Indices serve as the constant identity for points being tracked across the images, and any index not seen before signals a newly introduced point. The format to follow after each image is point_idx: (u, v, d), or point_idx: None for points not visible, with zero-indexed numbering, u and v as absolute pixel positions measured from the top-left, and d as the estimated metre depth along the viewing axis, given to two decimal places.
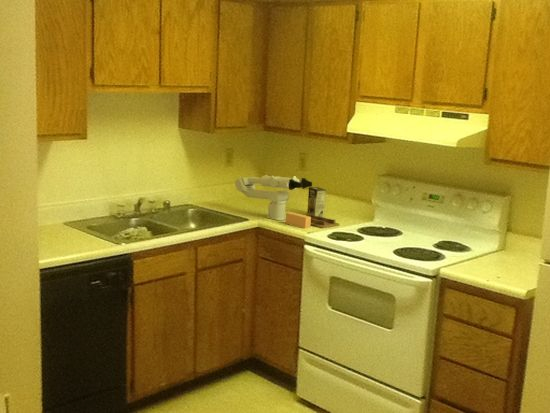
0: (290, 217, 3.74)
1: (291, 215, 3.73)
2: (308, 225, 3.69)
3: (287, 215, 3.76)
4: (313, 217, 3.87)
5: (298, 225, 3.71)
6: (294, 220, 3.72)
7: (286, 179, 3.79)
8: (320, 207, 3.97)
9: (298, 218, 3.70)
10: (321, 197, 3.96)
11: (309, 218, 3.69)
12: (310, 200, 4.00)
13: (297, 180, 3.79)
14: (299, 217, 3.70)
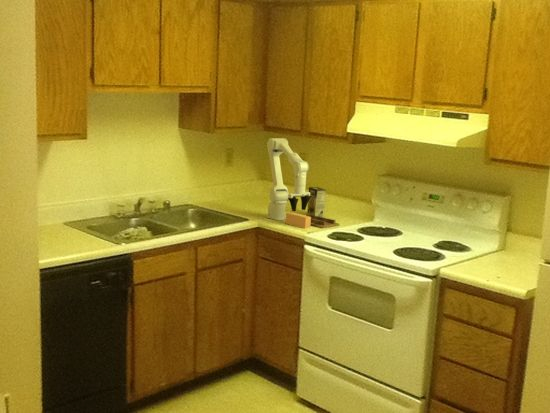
0: (290, 217, 3.74)
1: (291, 215, 3.73)
2: (308, 225, 3.69)
3: (287, 215, 3.76)
4: (313, 217, 3.87)
5: (298, 225, 3.71)
6: (294, 220, 3.72)
7: (300, 186, 3.67)
8: (320, 207, 3.97)
9: (298, 218, 3.70)
10: (321, 197, 3.96)
11: (309, 218, 3.69)
12: (310, 200, 4.00)
13: None
14: (299, 217, 3.70)
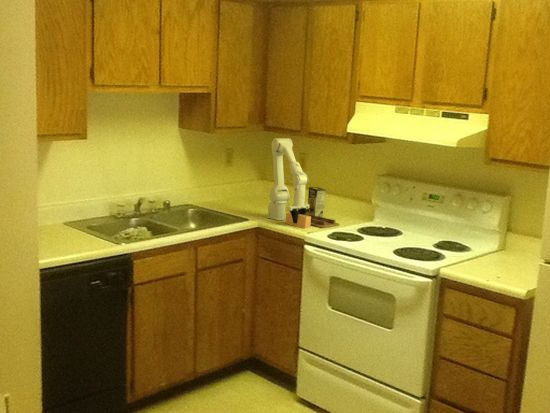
0: (290, 217, 3.74)
1: (291, 215, 3.73)
2: (308, 225, 3.69)
3: (287, 215, 3.75)
4: (313, 217, 3.87)
5: (298, 225, 3.71)
6: None
7: (299, 199, 3.68)
8: (320, 207, 3.97)
9: (298, 218, 3.70)
10: (321, 197, 3.96)
11: (309, 218, 3.69)
12: (310, 200, 4.00)
13: None
14: (299, 217, 3.70)
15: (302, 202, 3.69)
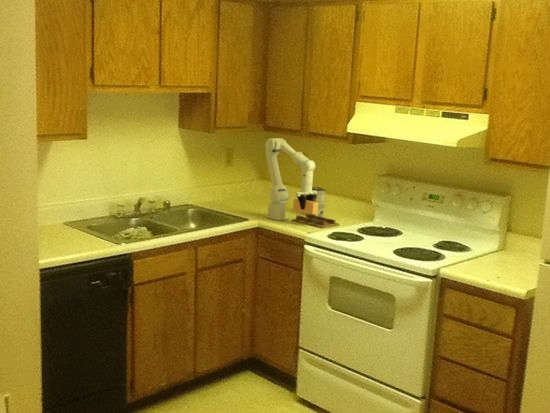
0: (298, 203, 3.76)
1: None
2: (316, 211, 3.71)
3: (295, 201, 3.77)
4: (313, 217, 3.87)
5: (306, 211, 3.73)
6: None
7: (307, 185, 3.70)
8: (320, 207, 3.97)
9: (305, 204, 3.72)
10: (321, 197, 3.96)
11: (317, 204, 3.71)
12: None
13: None
14: (307, 203, 3.71)
15: (310, 188, 3.71)
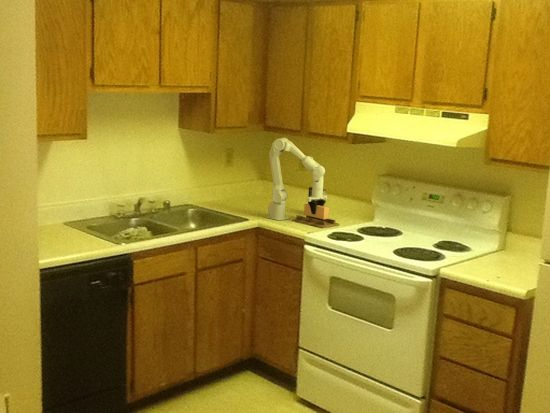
0: (308, 208, 3.82)
1: (309, 206, 3.81)
2: (326, 215, 3.77)
3: (305, 206, 3.83)
4: (313, 217, 3.87)
5: (316, 216, 3.78)
6: None
7: (318, 190, 3.76)
8: None
9: (316, 209, 3.78)
10: None
11: (327, 209, 3.77)
12: None
13: None
14: (317, 208, 3.77)
15: (320, 193, 3.77)
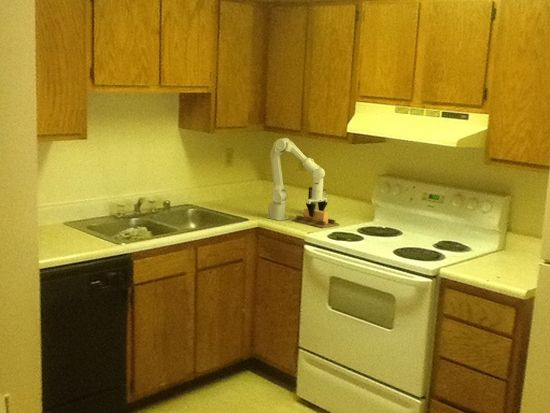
0: (308, 213, 3.82)
1: None
2: (326, 220, 3.77)
3: (305, 211, 3.84)
4: None
5: None
6: None
7: (318, 192, 3.77)
8: None
9: (316, 214, 3.79)
10: None
11: (327, 214, 3.77)
12: None
13: (321, 200, 3.80)
14: (317, 213, 3.78)
15: (320, 196, 3.77)
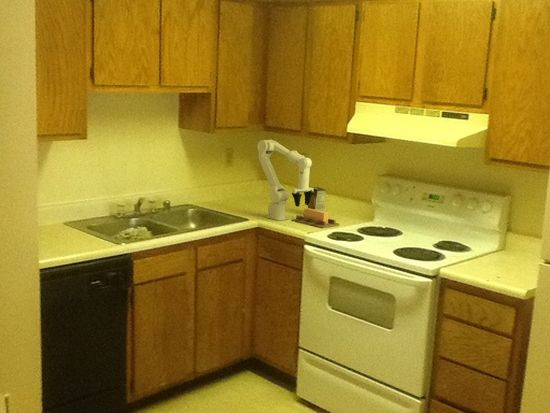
0: (308, 213, 3.82)
1: (309, 211, 3.82)
2: (326, 220, 3.77)
3: (305, 211, 3.84)
4: None
5: None
6: (312, 216, 3.81)
7: (304, 182, 3.75)
8: (320, 207, 3.97)
9: (316, 214, 3.79)
10: (321, 197, 3.96)
11: (327, 214, 3.77)
12: (310, 200, 4.00)
13: None
14: (317, 213, 3.78)
15: (306, 185, 3.76)
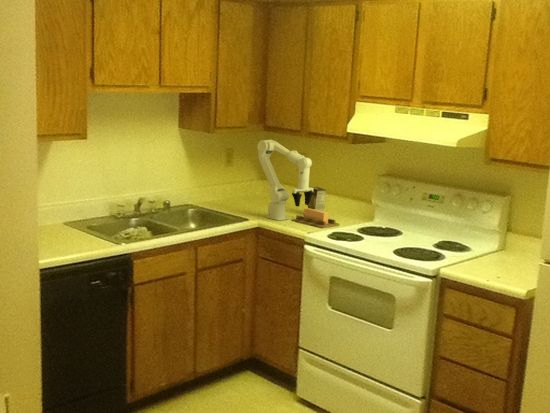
0: (308, 213, 3.82)
1: (309, 211, 3.82)
2: (326, 220, 3.77)
3: (305, 211, 3.84)
4: None
5: None
6: (312, 216, 3.81)
7: (304, 182, 3.75)
8: (320, 207, 3.97)
9: (316, 214, 3.79)
10: (321, 197, 3.96)
11: (327, 214, 3.77)
12: (310, 200, 4.00)
13: None
14: (317, 213, 3.78)
15: (306, 185, 3.76)
